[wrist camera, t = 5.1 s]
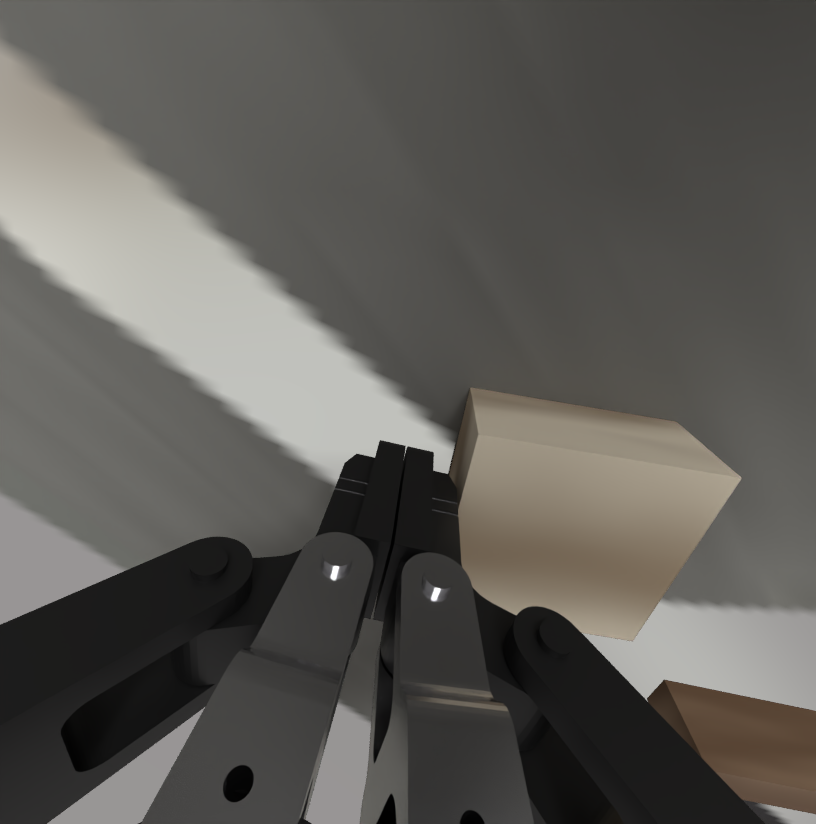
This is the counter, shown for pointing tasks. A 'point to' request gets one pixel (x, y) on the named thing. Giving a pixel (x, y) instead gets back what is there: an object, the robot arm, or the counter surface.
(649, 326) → the counter surface
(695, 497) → the maple tile
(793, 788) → the wooden u-shaped bracket
